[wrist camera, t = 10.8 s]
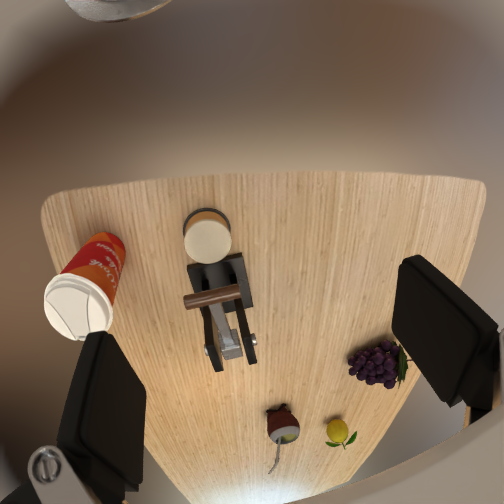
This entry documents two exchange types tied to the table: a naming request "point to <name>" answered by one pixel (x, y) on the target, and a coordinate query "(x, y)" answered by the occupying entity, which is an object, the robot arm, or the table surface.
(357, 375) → the fruit
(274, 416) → the mate gourd
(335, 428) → the lemon
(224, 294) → the lever
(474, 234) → the table surface
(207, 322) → the lever base stand
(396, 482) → the robot arm
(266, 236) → the table surface
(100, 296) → the coffee cup
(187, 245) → the cake
